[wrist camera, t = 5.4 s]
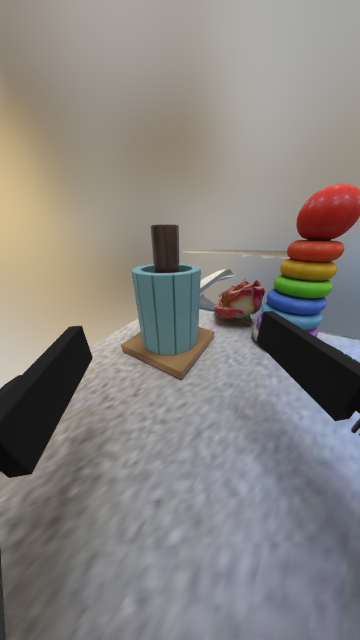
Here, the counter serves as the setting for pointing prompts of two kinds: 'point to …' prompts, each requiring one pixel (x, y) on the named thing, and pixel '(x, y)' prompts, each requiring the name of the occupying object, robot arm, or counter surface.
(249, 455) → the counter surface
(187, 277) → the planter pot
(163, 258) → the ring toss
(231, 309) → the flower
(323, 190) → the stacking toy
